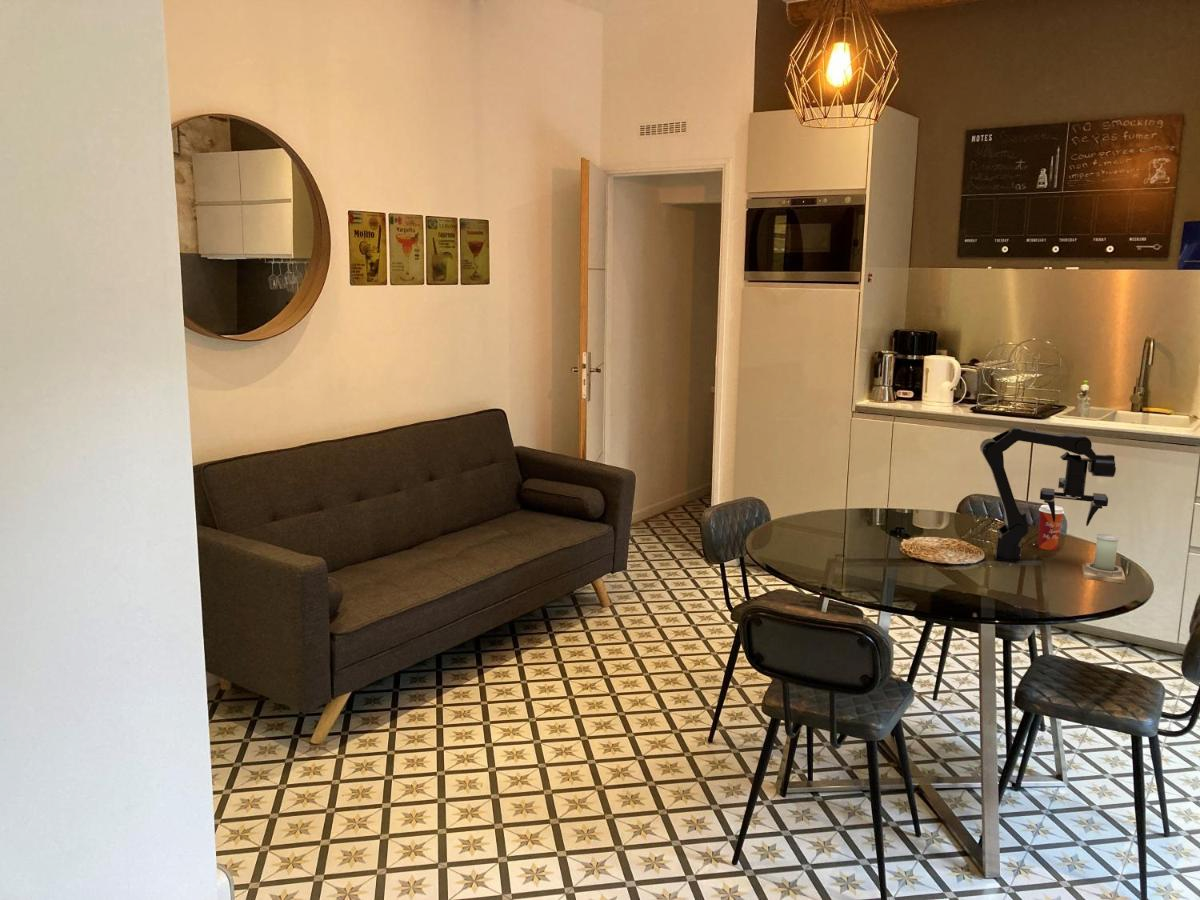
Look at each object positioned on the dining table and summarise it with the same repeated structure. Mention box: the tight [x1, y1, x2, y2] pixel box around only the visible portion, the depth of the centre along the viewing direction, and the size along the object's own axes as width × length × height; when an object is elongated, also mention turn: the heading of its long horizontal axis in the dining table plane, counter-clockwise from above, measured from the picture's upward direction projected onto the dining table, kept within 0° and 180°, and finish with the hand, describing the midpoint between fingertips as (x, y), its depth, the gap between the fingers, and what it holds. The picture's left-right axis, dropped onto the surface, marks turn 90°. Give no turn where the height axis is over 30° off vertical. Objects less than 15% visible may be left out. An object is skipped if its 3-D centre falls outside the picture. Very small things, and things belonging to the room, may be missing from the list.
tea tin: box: [1093, 533, 1120, 571], centre depth 283 cm, size 6×6×11 cm
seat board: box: [1081, 561, 1127, 585], centre depth 284 cm, size 11×11×3 cm
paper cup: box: [1037, 504, 1065, 551], centre depth 311 cm, size 8×8×14 cm
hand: (1070, 523), depth 293 cm, fingers open, 9 cm apart
